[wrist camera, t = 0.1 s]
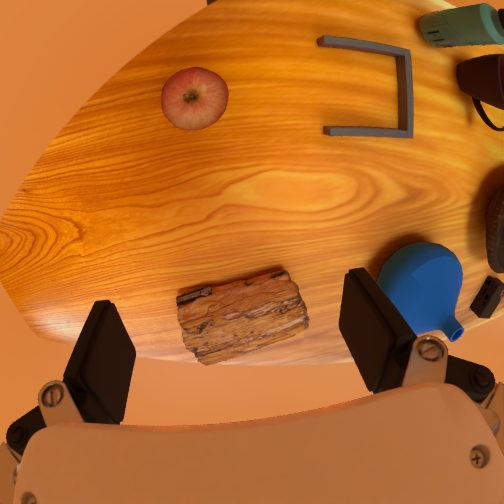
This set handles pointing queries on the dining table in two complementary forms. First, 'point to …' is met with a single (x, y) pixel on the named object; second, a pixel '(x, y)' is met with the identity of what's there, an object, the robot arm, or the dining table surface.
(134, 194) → the dining table surface
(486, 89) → the mug
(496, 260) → the ceramic pot
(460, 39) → the beverage bottle
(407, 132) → the bay
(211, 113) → the apple
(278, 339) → the petrified wood
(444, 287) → the vase
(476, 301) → the electronic device
